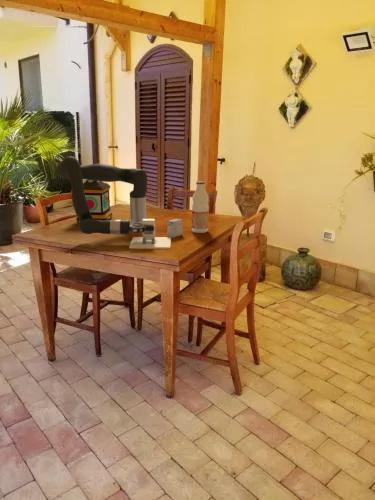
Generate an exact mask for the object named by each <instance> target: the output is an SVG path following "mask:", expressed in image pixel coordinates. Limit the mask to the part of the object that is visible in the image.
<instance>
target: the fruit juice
mask: <svg viewBox="0 0 375 500" xmlns="http://www.w3.org/2000/svg"><path fill="white" fill-rule="evenodd" d="M195 185H196V188H195V191H194V192H193V195H192V198H191V199H192V205H191V231H192V233H196V234H204V233H207V232H208V231H209V210H210V209H209V206H210V205H209V199H210V196H209V195H208V193H207V190H206V181H201V180H199V181H196V183H195Z"/></svg>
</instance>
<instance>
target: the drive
mask: <svg viewBox="0 0 375 500" xmlns="http://www.w3.org/2000/svg"><path fill="white" fill-rule="evenodd" d="M142 226H146V227H147V226H154V231H147V230H146V231H145V232H142V237H143V239H145V240H152V239H154V240H155V237H156V219H155V218H146V219H143V220H142Z"/></svg>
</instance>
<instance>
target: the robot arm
mask: <svg viewBox="0 0 375 500" xmlns="http://www.w3.org/2000/svg"><path fill="white" fill-rule="evenodd" d="M56 173H57V174H58V175H59V177H61V178H62V179H67V180H70V185H71V201H72V205H73V208H74V212H75V214H76V217H77V216H78V218H79V220H80V223H78V229H79V231H80V232H82V233H83V234H85V235H91V234H103V235H119V236H120V235H123V236H125V235H126V236H128V235H130V234H131V232H132V234H139V233H143V232H145V231H146V230H147V231H154V226H147V227H146V226H142V220H143V219H147V201H146V200H147V199H146V198H147V196H146V195H147V192H148V175H147V172H146V170H143V169H141V168H133V167H132V168H121V167H118V166H115V165H111V164H105V163H94V164H87V165H86V164H85V165H81V164H80V161H79V160H78V158H76V157H74V156H72V155H71V156H70V155H69V156H66V157H65V158H63V159H62V160H61V161H60V162H59V163H58V164H57V166H56ZM87 179H88V180H96V181H102V182H104V183H112V182H113V183H115V182H121V183H122V182H123V183H127V184H131V185H133V187H132V188H133V189H132V190H131V191H129V211H130V212H129V213H130V219H105V220H94V219H93V218H92V215H91V213H90V210H89V206H88V203H87V200H86V197H85V193H84V188H83V183H84V182H83V180H87Z"/></svg>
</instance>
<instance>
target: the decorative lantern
mask: <svg viewBox="0 0 375 500" xmlns="http://www.w3.org/2000/svg"><path fill="white" fill-rule="evenodd" d="M83 188H84V193H85V197H86V200H87V203H88V206H89V210H90V213H91V215H92V218H93V220H107V219H108V218H110V219H112V218H113V212H112V210H111V207H110V205H111V200H110V188H111V185H110V184H108V182H104V181H96V180H88V179H85V181H84V182H83ZM76 222H77V224H79V223H80V220H79V218H78V216H77V215H76Z"/></svg>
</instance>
